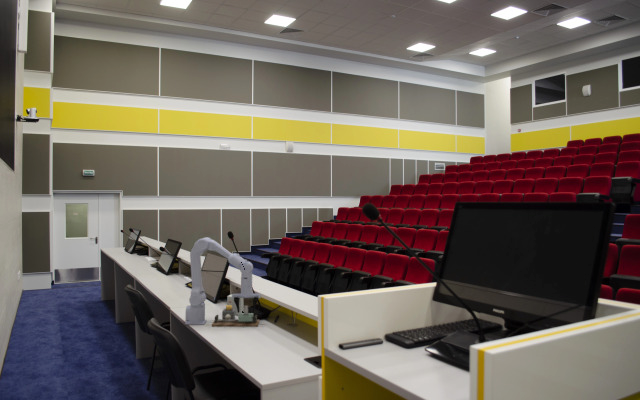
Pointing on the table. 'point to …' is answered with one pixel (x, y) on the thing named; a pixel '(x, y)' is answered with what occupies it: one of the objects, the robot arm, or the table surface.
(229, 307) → the gauge button
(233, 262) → the robot arm
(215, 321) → the rail bed
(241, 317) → the carriage
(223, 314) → the gauge cabinet
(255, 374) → the table surface
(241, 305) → the small box
